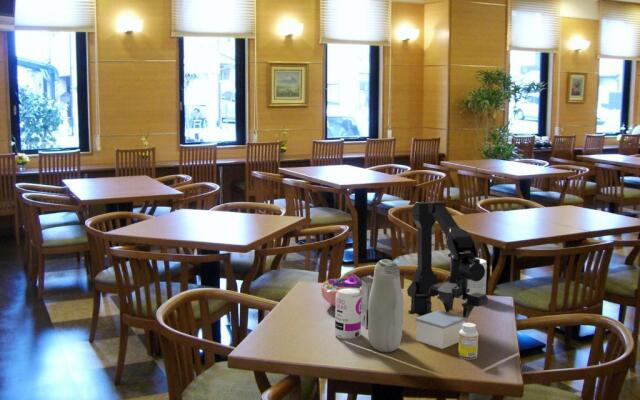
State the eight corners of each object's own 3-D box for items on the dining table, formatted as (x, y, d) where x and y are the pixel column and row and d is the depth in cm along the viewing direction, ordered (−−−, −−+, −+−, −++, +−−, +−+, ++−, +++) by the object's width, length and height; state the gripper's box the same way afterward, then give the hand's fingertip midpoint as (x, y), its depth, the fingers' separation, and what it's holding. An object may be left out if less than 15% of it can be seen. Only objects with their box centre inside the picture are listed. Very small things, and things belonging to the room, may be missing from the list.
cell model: (309, 305, 262) (310, 275, 260) (350, 296, 274) (351, 267, 273) (341, 317, 249) (341, 285, 247) (382, 307, 262) (383, 276, 260)
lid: (415, 325, 225) (415, 315, 225) (447, 313, 237) (447, 304, 237) (443, 333, 218) (443, 324, 217) (475, 321, 230) (475, 312, 230)
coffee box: (385, 321, 246) (387, 275, 243) (391, 327, 239) (393, 280, 237) (359, 322, 243) (361, 276, 241) (365, 329, 237) (367, 281, 235)
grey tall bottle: (407, 352, 217) (411, 262, 213) (380, 358, 212) (383, 266, 207) (387, 342, 225) (390, 255, 221) (361, 348, 220) (363, 258, 215)
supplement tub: (490, 299, 274) (492, 261, 272) (472, 303, 269) (474, 264, 266) (472, 293, 282) (474, 256, 279) (454, 296, 277) (456, 259, 274)
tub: (415, 342, 226) (416, 320, 225) (438, 333, 235) (439, 312, 233) (442, 350, 219) (443, 328, 218) (464, 341, 228) (465, 320, 227)
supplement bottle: (463, 352, 218) (465, 320, 216) (480, 357, 214) (482, 324, 213) (454, 357, 213) (456, 324, 212) (471, 362, 210) (473, 329, 208)
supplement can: (363, 333, 233) (364, 288, 230) (356, 342, 225) (357, 295, 223) (339, 330, 235) (340, 286, 233) (331, 338, 228) (332, 292, 225)
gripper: (420, 271, 231) (418, 318, 233) (470, 283, 218) (467, 333, 220) (440, 266, 238) (438, 311, 241) (489, 277, 225) (487, 325, 228)
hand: (456, 320), depth 232 cm, fingers open, 5 cm apart
